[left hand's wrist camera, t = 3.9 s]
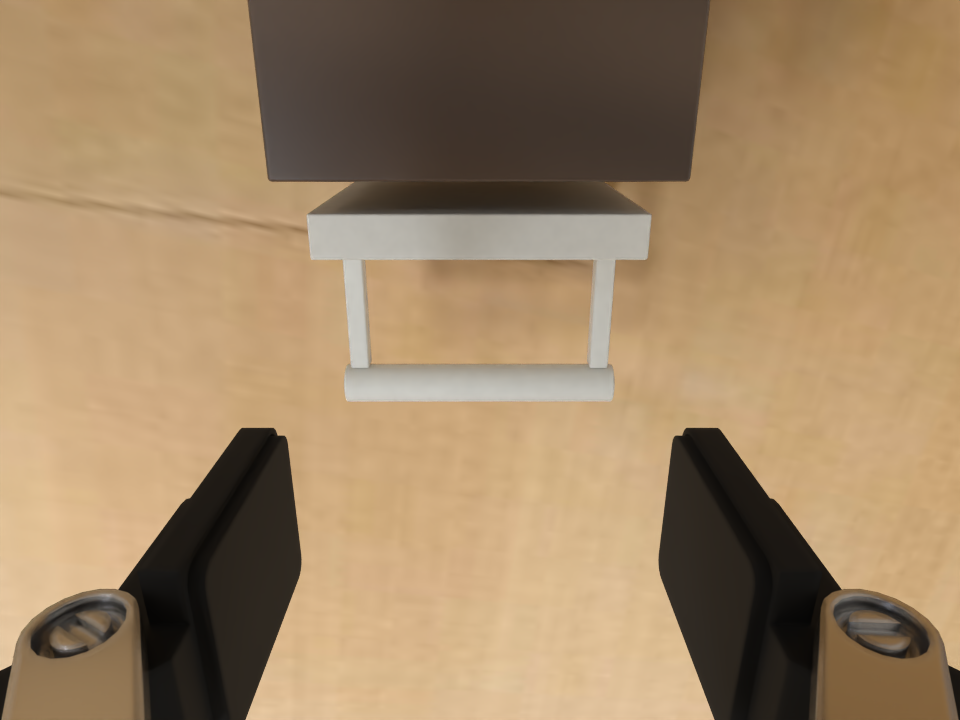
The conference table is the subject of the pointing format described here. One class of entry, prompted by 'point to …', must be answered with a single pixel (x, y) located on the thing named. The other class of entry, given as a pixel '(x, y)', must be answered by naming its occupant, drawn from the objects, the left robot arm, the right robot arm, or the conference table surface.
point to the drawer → (479, 236)
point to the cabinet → (478, 89)
